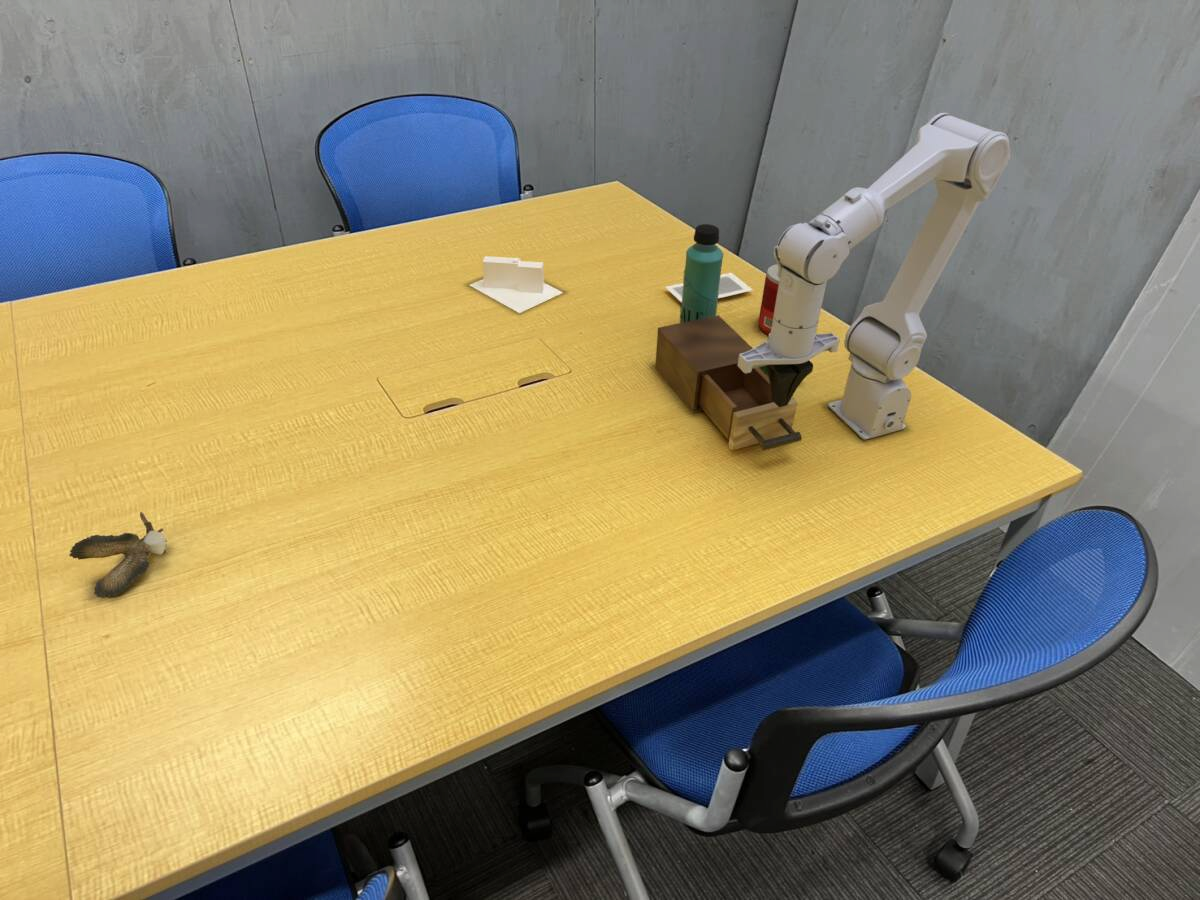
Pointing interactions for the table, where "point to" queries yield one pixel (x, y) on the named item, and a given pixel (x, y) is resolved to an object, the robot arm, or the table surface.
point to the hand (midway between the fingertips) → (779, 402)
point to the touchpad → (726, 287)
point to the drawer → (746, 408)
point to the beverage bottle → (701, 275)
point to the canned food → (769, 299)
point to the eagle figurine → (132, 556)
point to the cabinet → (696, 354)
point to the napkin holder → (515, 282)
